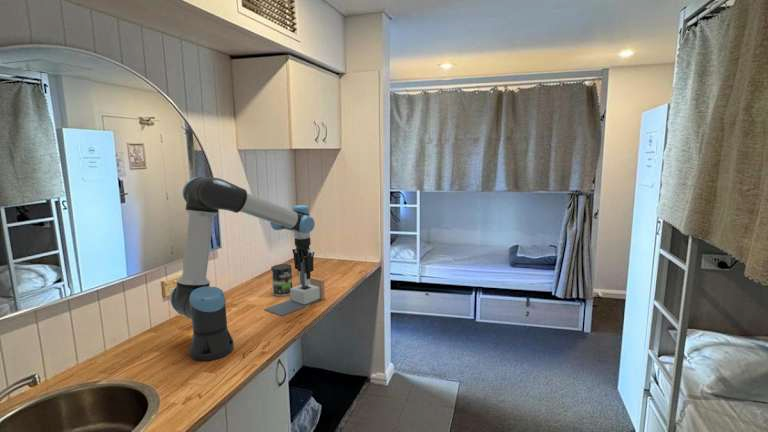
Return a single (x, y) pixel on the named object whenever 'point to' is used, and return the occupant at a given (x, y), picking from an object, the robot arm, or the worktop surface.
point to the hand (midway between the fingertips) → (304, 284)
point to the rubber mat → (288, 307)
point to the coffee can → (281, 279)
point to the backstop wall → (318, 283)
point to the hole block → (305, 294)
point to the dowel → (303, 276)
